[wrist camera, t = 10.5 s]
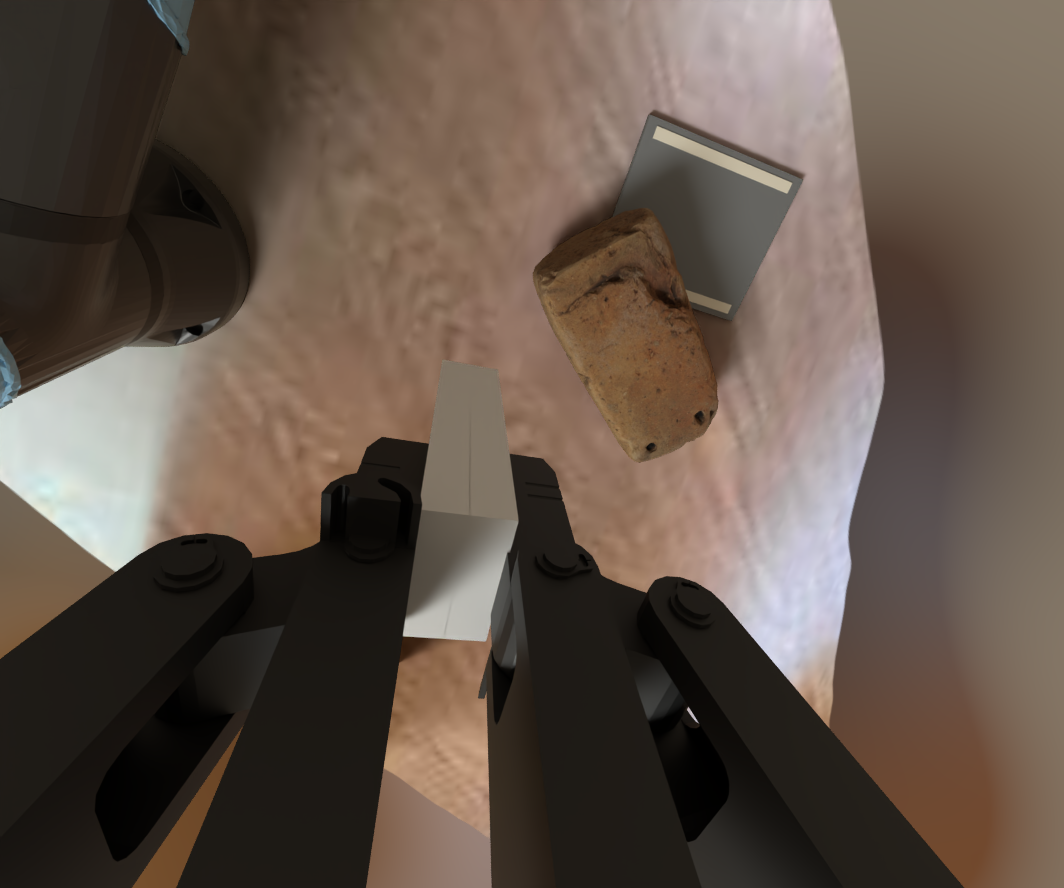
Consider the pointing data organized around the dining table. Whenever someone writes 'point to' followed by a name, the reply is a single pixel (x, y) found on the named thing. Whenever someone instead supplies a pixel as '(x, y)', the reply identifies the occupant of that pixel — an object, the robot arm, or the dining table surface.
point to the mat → (708, 210)
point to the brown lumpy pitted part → (631, 332)
